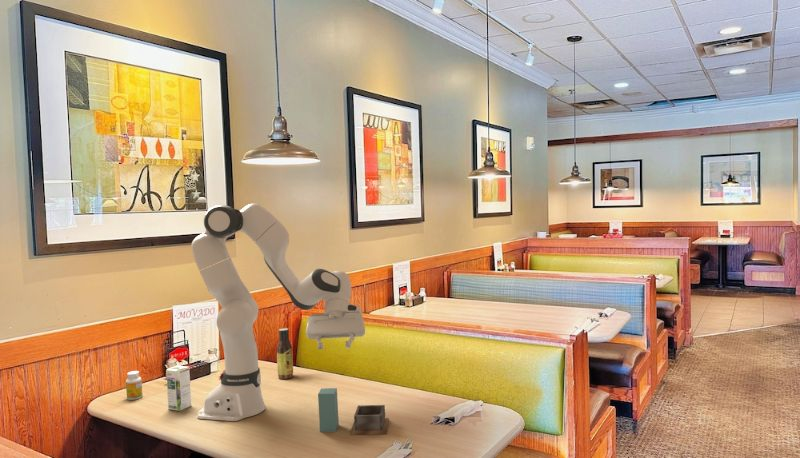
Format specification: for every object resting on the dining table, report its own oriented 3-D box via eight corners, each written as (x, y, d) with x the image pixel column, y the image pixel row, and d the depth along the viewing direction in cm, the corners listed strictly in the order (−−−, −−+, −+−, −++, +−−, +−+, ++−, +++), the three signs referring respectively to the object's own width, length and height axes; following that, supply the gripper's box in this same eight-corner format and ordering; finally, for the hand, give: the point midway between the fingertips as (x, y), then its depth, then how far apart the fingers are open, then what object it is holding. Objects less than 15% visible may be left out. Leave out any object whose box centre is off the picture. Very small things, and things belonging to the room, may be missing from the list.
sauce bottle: (289, 380, 221) (287, 331, 220) (275, 379, 222) (272, 331, 221) (296, 374, 227) (293, 327, 226) (282, 374, 229) (279, 327, 228)
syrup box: (167, 409, 195) (164, 369, 194) (180, 403, 200) (178, 364, 199) (179, 411, 192) (176, 371, 191) (192, 405, 197) (189, 366, 197)
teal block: (320, 431, 170) (318, 394, 169) (323, 425, 175) (321, 388, 174) (335, 431, 170) (334, 393, 169) (338, 425, 175) (336, 388, 174)
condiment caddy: (350, 434, 167) (349, 417, 166) (355, 421, 177) (354, 404, 176) (386, 434, 166) (385, 416, 166) (389, 420, 176) (388, 404, 176)
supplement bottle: (123, 399, 207) (121, 374, 206) (135, 394, 212) (133, 369, 211) (134, 400, 205) (132, 375, 204) (145, 395, 210) (144, 370, 209)
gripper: (306, 309, 191) (301, 344, 182) (364, 306, 190) (362, 341, 180) (309, 319, 196) (305, 353, 187) (366, 316, 194) (365, 350, 185)
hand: (334, 347), depth 183 cm, fingers open, 8 cm apart
